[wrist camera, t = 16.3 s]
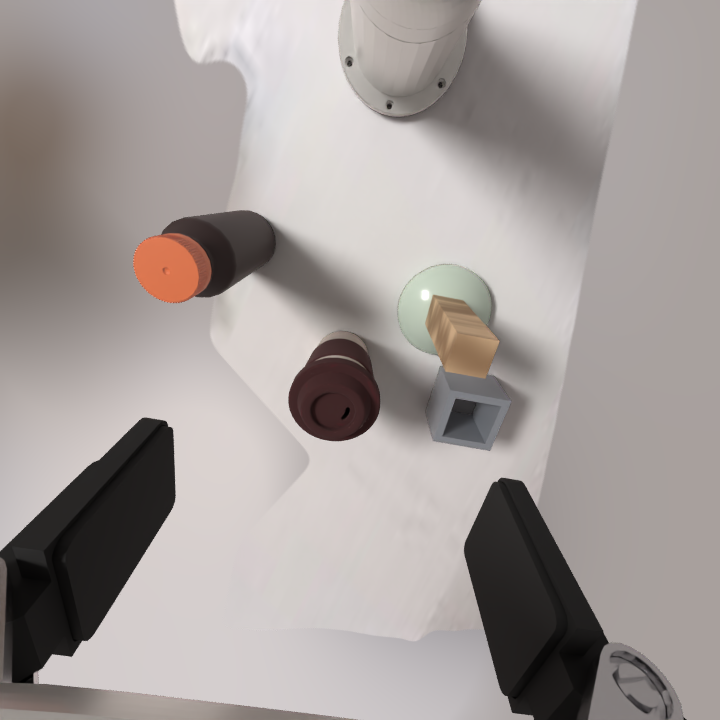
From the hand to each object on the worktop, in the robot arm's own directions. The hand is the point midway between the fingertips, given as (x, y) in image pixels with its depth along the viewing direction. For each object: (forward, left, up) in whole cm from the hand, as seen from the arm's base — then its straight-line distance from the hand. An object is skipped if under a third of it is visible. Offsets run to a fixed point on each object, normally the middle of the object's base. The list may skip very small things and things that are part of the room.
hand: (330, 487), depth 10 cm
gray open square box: (+16, +18, -38) cm, 45 cm away
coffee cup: (+13, 0, -38) cm, 41 cm away
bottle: (0, -14, -38) cm, 41 cm away
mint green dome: (+4, +12, -38) cm, 40 cm away
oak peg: (+4, +12, -37) cm, 39 cm away
